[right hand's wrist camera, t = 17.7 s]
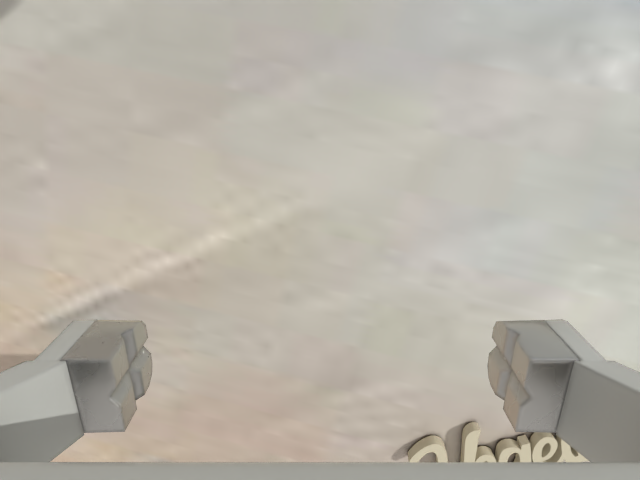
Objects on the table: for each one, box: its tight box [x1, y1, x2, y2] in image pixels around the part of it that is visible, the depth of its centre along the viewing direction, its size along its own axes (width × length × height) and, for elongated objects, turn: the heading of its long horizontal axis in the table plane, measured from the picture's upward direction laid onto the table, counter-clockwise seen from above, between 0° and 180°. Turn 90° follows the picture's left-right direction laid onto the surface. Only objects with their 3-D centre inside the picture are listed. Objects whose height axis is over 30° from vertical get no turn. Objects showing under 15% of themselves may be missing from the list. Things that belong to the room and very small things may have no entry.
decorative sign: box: [407, 422, 589, 462], centre depth 39 cm, size 26×1×10 cm
